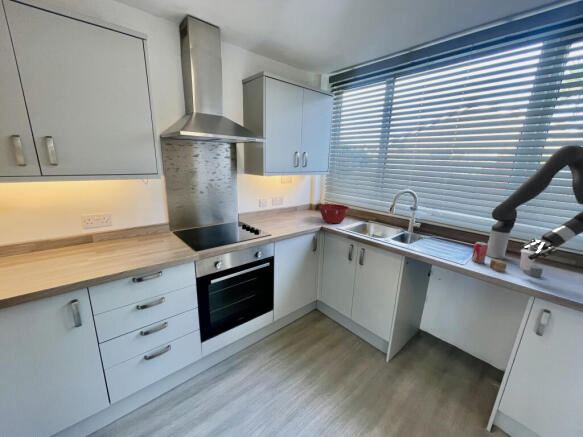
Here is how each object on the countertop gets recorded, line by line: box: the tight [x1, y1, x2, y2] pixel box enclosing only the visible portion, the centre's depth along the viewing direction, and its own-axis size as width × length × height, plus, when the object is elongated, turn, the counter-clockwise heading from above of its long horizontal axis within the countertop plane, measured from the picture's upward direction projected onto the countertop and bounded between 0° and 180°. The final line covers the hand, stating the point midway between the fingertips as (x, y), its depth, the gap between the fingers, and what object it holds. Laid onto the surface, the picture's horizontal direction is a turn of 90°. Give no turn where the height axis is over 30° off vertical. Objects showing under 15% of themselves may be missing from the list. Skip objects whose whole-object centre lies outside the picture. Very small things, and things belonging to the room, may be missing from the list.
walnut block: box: [489, 258, 508, 273], centre depth 137 cm, size 5×5×5 cm
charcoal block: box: [522, 264, 544, 278], centre depth 131 cm, size 5×5×5 cm
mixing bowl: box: [318, 203, 350, 224], centre depth 233 cm, size 28×28×15 cm
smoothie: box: [519, 243, 537, 270], centre depth 125 cm, size 6×6×14 cm
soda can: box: [471, 241, 488, 264], centre depth 147 cm, size 6×6×12 cm
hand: (524, 255), depth 125 cm, fingers closed on smoothie, 6 cm apart
